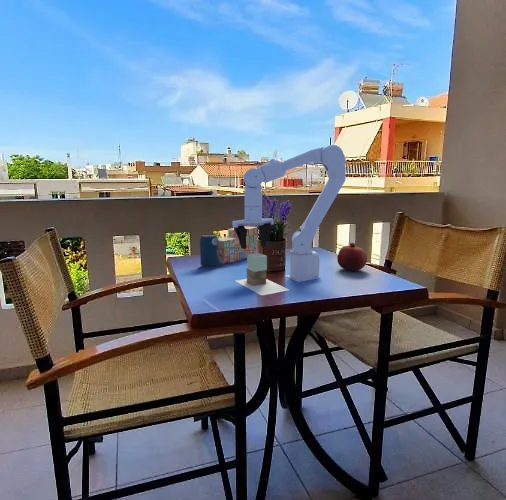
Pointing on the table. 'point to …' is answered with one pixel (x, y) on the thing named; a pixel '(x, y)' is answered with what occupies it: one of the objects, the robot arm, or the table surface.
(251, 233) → the stack of blocks
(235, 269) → the table surface
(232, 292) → the table surface
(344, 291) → the table surface
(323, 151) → the robot arm
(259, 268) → the sage block
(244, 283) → the build mat
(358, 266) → the fruit
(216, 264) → the soda can
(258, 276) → the walnut block
